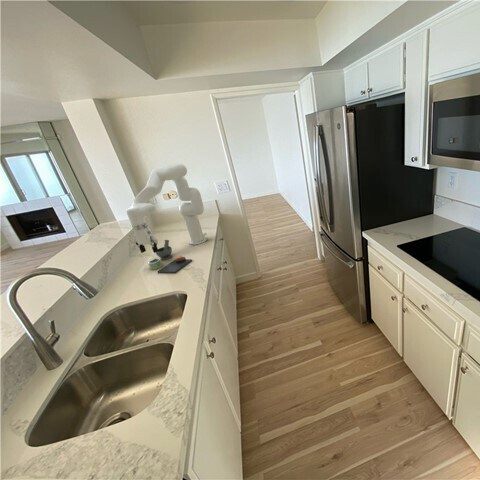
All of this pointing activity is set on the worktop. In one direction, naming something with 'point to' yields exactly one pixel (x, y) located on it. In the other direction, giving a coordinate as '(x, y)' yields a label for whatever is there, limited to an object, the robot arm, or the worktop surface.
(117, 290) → the worktop surface
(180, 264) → the scale
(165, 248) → the mortar and pestle
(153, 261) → the bowl
